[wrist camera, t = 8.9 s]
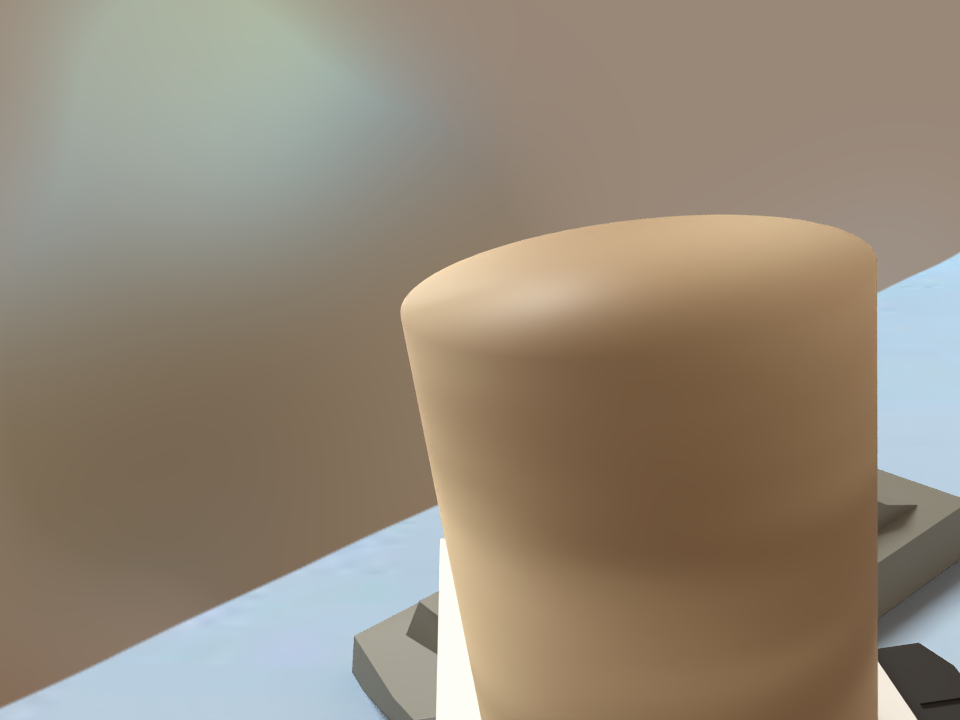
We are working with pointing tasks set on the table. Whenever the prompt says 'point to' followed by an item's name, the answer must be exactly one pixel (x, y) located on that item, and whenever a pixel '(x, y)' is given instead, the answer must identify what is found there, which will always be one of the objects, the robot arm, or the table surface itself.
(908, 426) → the table surface
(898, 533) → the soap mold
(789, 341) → the oak leg
